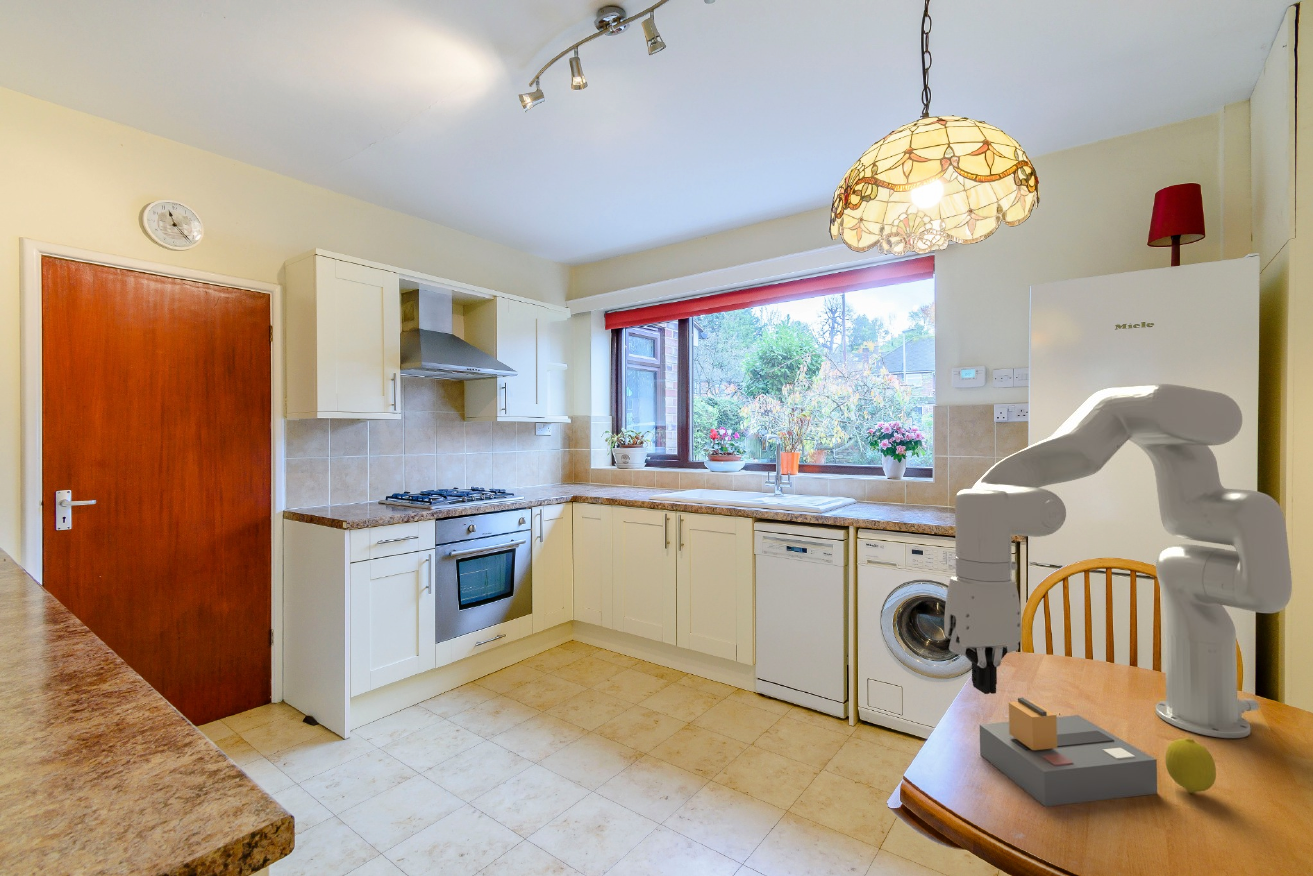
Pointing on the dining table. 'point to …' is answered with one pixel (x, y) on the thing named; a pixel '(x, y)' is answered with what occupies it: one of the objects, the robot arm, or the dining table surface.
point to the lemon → (1190, 765)
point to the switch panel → (1071, 763)
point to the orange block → (1032, 724)
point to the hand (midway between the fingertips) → (984, 690)
